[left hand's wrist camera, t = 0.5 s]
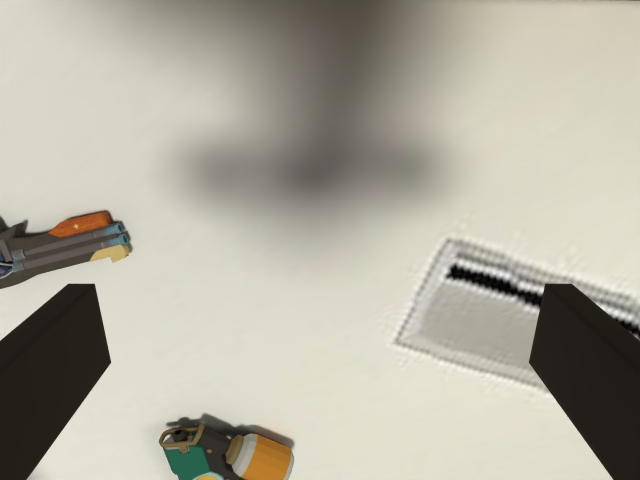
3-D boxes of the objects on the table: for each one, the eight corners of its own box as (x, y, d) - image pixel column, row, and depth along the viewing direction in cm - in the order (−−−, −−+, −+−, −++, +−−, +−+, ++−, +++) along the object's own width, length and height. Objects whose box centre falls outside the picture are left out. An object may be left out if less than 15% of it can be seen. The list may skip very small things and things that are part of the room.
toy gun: (-148, 204, 34) (-90, 317, 37) (81, 143, 34) (126, 261, 36) (-116, 199, 37) (-63, 305, 39) (97, 143, 37) (138, 253, 39)
